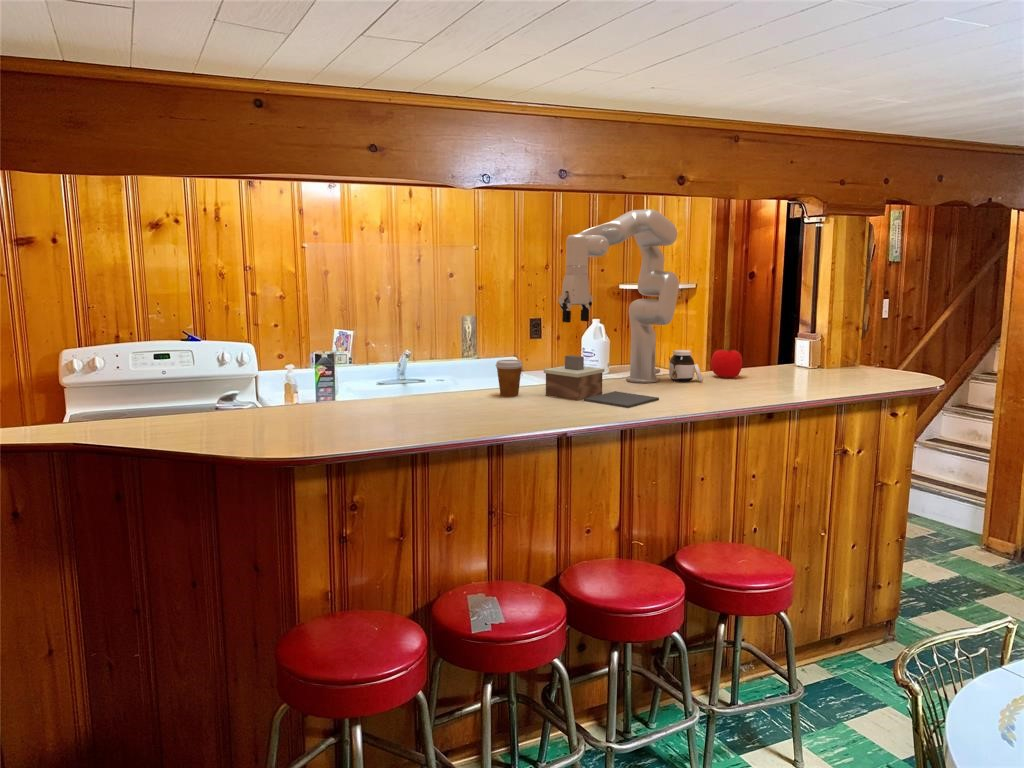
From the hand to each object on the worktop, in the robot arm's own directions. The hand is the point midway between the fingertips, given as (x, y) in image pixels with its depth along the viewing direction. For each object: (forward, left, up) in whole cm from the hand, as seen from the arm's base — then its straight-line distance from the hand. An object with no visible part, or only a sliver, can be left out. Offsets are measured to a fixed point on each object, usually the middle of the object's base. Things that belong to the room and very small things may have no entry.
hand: (575, 321), depth 253 cm
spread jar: (-51, +14, -26) cm, 59 cm away
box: (+1, 0, -26) cm, 26 cm away
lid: (+1, 0, -19) cm, 19 cm away
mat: (-2, +18, -26) cm, 31 cm away
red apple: (-69, +21, -26) cm, 77 cm away
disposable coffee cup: (+16, -17, -26) cm, 35 cm away
